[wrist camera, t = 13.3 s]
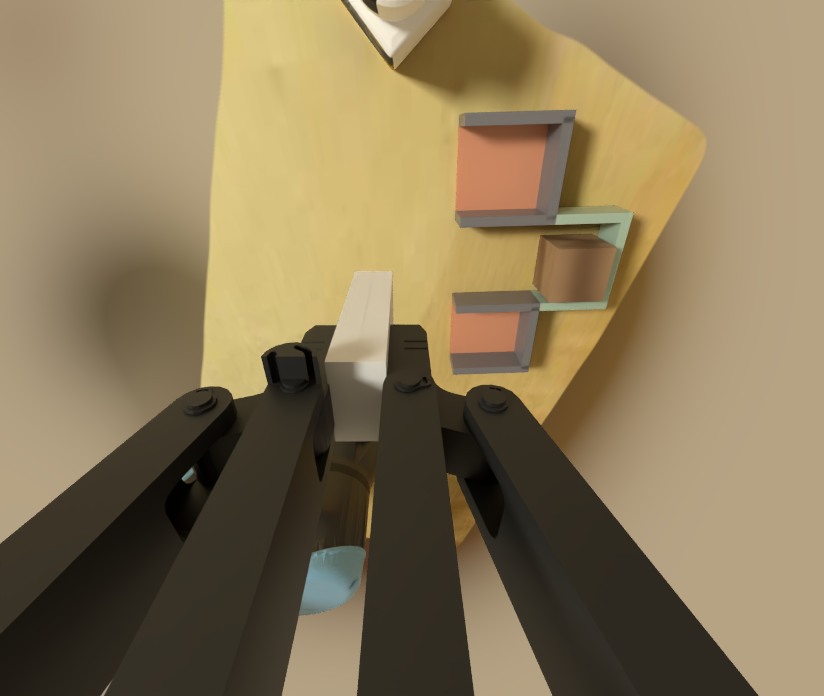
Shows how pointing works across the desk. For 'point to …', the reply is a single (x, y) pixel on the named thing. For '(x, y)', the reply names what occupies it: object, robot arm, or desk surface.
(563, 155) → the box
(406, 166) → the desk surface
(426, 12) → the medicine bottle
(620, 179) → the desk surface
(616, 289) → the desk surface
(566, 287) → the walnut block
